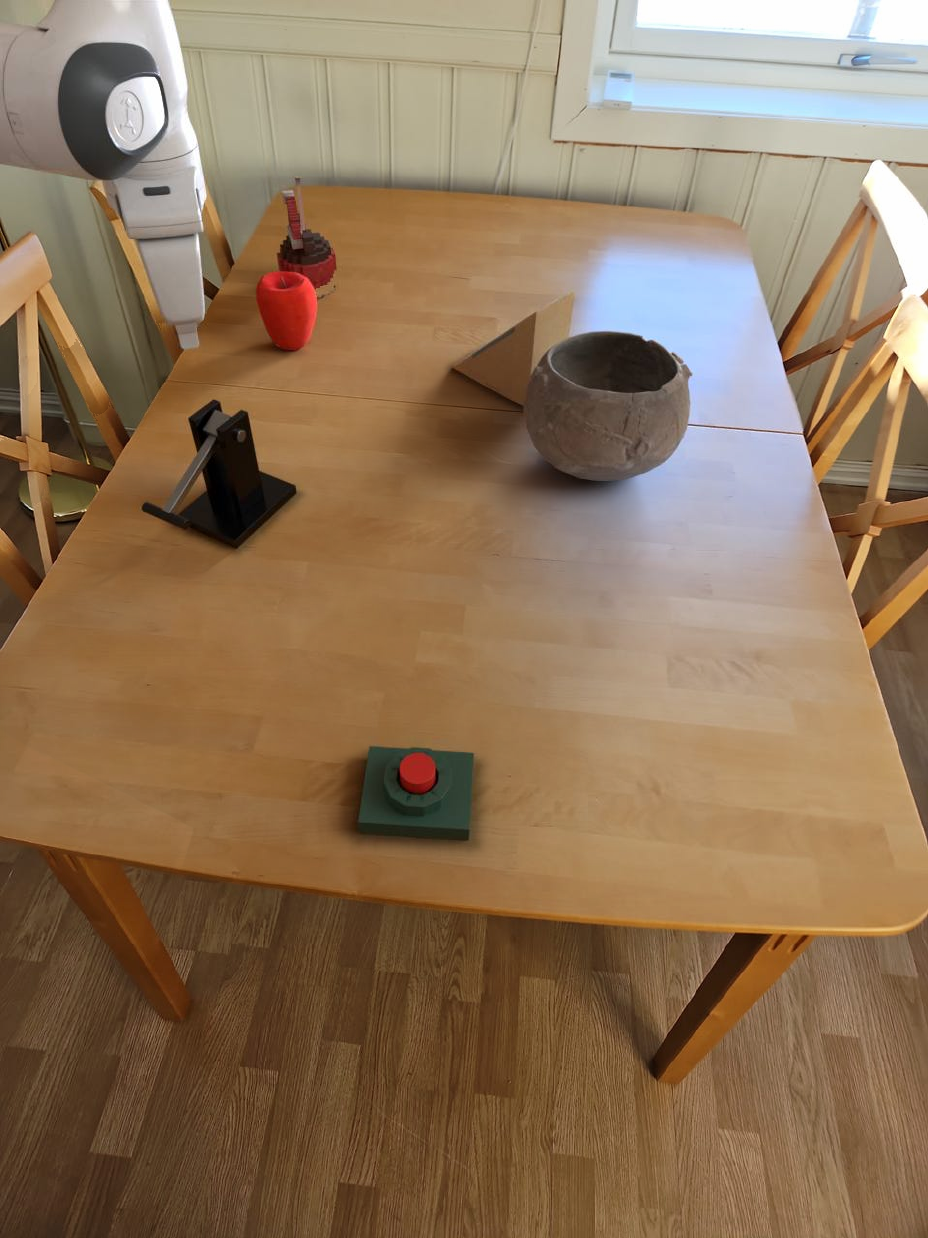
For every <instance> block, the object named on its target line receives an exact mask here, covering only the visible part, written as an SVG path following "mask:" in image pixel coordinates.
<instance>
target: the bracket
mask: <svg viewBox="0 0 928 1238" xmlns="http://www.w3.org/2000/svg"><path fill="white" fill-rule="evenodd" d="M215 410H217V411H220V412H222V413H224V412H223V407H222V404H221V401H220V400H217V399H214V398H213V399H211V400H210V401H209V402H208V403H206V404H205V405H203V406H202V407H201V408H200V409H198V410H196V412H194V413H193V414H192V415H190V416H189V417H188V418H187V419H188V423H189V427H190V432H191V434H192V439H193V442H194V447H195V450H196V454H197V453H198V452H199V450H200V449H201V447H202V445H203V444H204V442H205V441H206V439H207V438H208V435H207V434H206V433H205V432H204V431H203V428H204V427H205V425H206V424H207V422H208V420H209V419H210V417H211V416H212V414H213V413H214V411H215ZM216 431H217V436H218V440H219V445H218V446H217V448H216V449H215V451H214V453H213V454H212V456H211V457H210V459H209V461H208V462H207V464H206V465H205V467H204V469H203V470H202V472H201V474H202V476H203V481H204V484H205V488H206V490H205V491H204V492H202V493H201V494H200V495H199V496H198V497H196V498H195V499H194V500H193V501H192V502H191V503H189V504H188V505H187V506H186V507H185V508H183V510H181V511H179V513H177V515H179V516H181V517H183V518H185V519H188V520H189V521H190V527H189V528H188V529H192V530H194V531H196V532H198V533H201V534H203V535H205V536H207V537H209V538H211V539H214V540H216V541H219V542H221V543H223V544H226V545H228V546H229V547H232V548H234V549H238V548H240V547H241V546H242V544H244V543H245V542H246V541H247V540H248V539H249V538H250V537H252V535H254V534H255V532H257V531H258V530H259V529H260V528H262V526H263V525H265V523H266V522H268V521H269V520H270V519H271V518H272V517H273V516H274V515H275V514H277V512H278V511H279V510H280V509H281V508H283V507H284V506H285V505H286V504H287V503H288V502H289V501H290V500H291V499H292V498H293V497H294V496H296V495H297V493H298V492H297V486H296V484H293V483H291V482H288V481H286V480H283V479H281V478H279V477H276V476H273V475H272V474H271V475H270V474H268V473H266V472H263V471H261V470H260V467H259V461H258V457H257V452H256V446H255V442H254V437H253V431H252V427H251V421H250V417H249V412H248V411H245V410H243V409H240V410H239V411H237V412H235V414H233V415H232V416H231V418H230V419H228V420H227V421H226V422H225V423H223V424H222V425H221V426H219V427H218V428H217V429H216Z"/></svg>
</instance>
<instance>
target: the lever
mask: <svg viewBox="0 0 928 1238" xmlns="http://www.w3.org/2000/svg"><path fill="white" fill-rule="evenodd" d="M222 412H223V411H222ZM222 412H220V411H217V410H215V411H214V413H213V414H212V416H211V417H210V419H209V420H208V422H207V424H206V425H205V427H204V428H203V431H204V432H205V433H206V434H207V435H208V438H207V439H206V441H205V442H204V444H203V445H202V447H201V449H200V450H199V452H198V453H197V452H196V455H195V456H194V458H193V459H192V461H191V463H190V464H189V466H188V468H187V469H186V471H185V472H184V474H183V475H182V477H181V479H180V480H179V482H178V483H177V484H176V487H174V489H173V491H172V493H171V495H170V496H169V498H168V499H167V501H166V502H165V504H164V505H163V506H162V507H161V506H158V505H156V504H153V503H151V502H149V501H144V502H143V503H142V505H141V511H142V512H144V513H146V514H148V515H150V516H153V517H154V518H157V519H159V520H161V521H163V522H166V523H168V524H170V525H173V526H175V527H177V528H179V529H181V530H184V531H187V530H189V529H190V528H189V527H190V521H189V520H188V519H185V518H183V517H181V516H179V515H178V514H177V512H178V510H179V508H180V507H181V505H182V504H183V502H184V500H185V499H186V498H187V496H188V495H189V492H190V491H191V489H192V488H193V487H194V485H195V483H196V481H198V478H199V477H200V475H201V474H202V470H203V469H204V467H205V465H206V464H207V462H208V461H209V459H210V457H211V456H212V454H213V453H214V451H215V449H216V448H217V446H218V445H219V440H218V436H217V431H216V429H217V428H218V427H219V426H221V425H222V424H223V423H225V422H226V421H227V420H228V419H230V418H231V417H232V416H231V415H230V414H227V413H225V412H223V413H222Z"/></svg>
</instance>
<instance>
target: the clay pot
mask: <svg viewBox="0 0 928 1238" xmlns="http://www.w3.org/2000/svg"><path fill="white" fill-rule="evenodd" d="M691 377H693V372H692V371H691V370H690V368H689V367H688V365H687V364H686V363H685V361H684V359H683V358H681V357H680V356H679V355H678V354H677V353H676V352H674V351H672V352H670V351H668V350H667V348H666V347H665V346H663V345H662V344H661V343H659V342H657V341H655V340H654V339H649V340H648V339H646V338H644V337H643V335H640V334H636V333H633V332H625V331H624V332H623V331H618V330H617V331H616V330H598V331H597V330H596V331H588V332H583V333H579V334H575V335H571V336H569V337H568V338H566V339H564V340H562V341H560V342H558V343H556V344H555V345H554V346H553V347H551V348H550V349H549V350H548V351H547V352H546V353H545V354H544V355H543V357H542V358H541V360H540V361H539V363H538V365H537V366H536V367H535V369H534V371H533V373H532V375H531V379H530V382H529V385H528V387H527V392H526V396H525V401H524V406H523V419H524V425H525V429H526V432H527V434H528V436H529V438H530V440H531V443H532V444H533V447H534V448H535V449H536V451H538V453H539V454H540V456H542V458H544V459H545V460H546V461H547V462H548V463H549V464H550V465H551V466H552V467H554V468H555V469H556V470H558V471H560V472H562V473H564V474H568V475H570V476H573V477H575V478H577V479H581V480H588V481H589V480H590V481H594V482H609V481H610V482H611V481H612V482H613V481H621V480H628V479H631V478H634V477H637V476H641V475H644V474H646V473H648V472H650V471H652V470H654V469H656V468H658V467H660V466H661V465H663V464H664V463H665V462H667V461H668V459H670V457H671V456H672V455H674V453H675V451H676V450H677V449H678V447H679V445H680V443H682V442H681V441H682V440H683V439H684V438H685V434H686V432H687V430H688V426H689V420H690V415H691V397H690V394H691V393H690V386H689V385H690V384H689V379H690V378H691Z"/></svg>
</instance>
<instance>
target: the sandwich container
mask: <svg viewBox="0 0 928 1238" xmlns="http://www.w3.org/2000/svg"><path fill="white" fill-rule="evenodd" d="M575 296H576V294H575V291H574V290H572V291H570V292H568V293H566V294H564V295H562V296H559V297H557V298H555V299H553V300H552V301H549V302H548V303H545V304H544V305H543V306H541V307H540V308H538V309H537V310H534V311H533V312H532V313H530V314H529V315H527V316H526V317H525V318H523V319H522V320H520V321H519V322H518V323H516V324H515V325H513V326H511V327H510V328H509V329H507V330H505V331H503V332H502V333H501V334H499V335H498V336H497V337H495V338H493V339H492V340H490V341H488V342H487V343H485V344H483V345H482V346H481V347H479V348H477V349H476V350H474V351H473V352H472V353H470V354H469V355H467V356H466V357H464V358H463V359H461V360H460V361H458V362H457V363H456V364H454V365H452V369H454V370H456V371H458V372H459V373H461V374H463V375H464V376H466V377H468V378H470V379H471V380H473V381H475V382H477V383H479V384H480V385H482V386H484V387H486V388H488V389H490V390H492V391H494V392H496V393H498V394H500V395H501V396H502V397H505V398H507V399H508V400H510V401H512V402H514V403H516V404H518V405H521V406H522V407H524V401H525V396H526V392H527V387H528V385H529V382H530V379H531V375H532V373H533V371H534V369H535V367H536V366H537V365H538V363H539V361H540V360H541V358H542V357H543V355H544V354H545V353H546V352H547V351H548V350H549V349H550V348H551V347H553V346H554V345H555V344H556V343H558V342H560V341H562V340H564V339H566V338H568V337H570V331H571V330H570V329H571V325H572V317H573V311H574V304H575V303H574V302H575V298H576V297H575Z"/></svg>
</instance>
